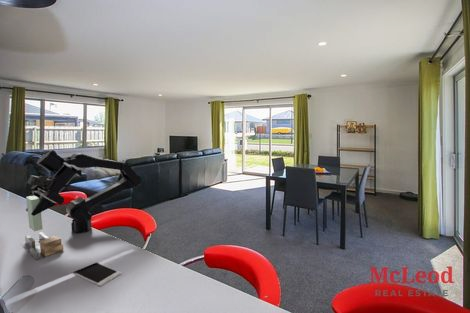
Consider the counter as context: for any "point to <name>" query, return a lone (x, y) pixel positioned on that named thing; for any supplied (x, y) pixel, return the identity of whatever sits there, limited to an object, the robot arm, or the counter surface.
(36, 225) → the pale green block
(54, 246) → the block
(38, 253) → the rack
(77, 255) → the counter surface
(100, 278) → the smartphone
